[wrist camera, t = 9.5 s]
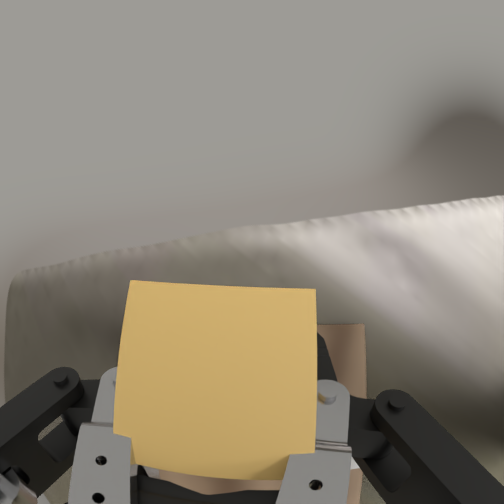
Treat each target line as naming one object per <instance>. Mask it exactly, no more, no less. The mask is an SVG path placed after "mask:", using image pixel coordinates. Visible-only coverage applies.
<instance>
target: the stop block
mask: <svg viewBox="0 0 504 504" xmlns="http://www.w3.org/2000/svg"><path fill="white" fill-rule="evenodd" d="M316 409H317V319H316V291H315V289H296V288H263V287H237V286H215V285H197V284H180V283H164V282H150V281H136V280H131V281H130V286H129V291H128V296H127V302H126V308H125V314H124V320H123V327H122V334H121V341H120V349H119V357H118V366H117V376H116V388H115V401H114V421H113V433H114V434H118V435H122V436H125V437H129V438H131V440H132V446H133V451H134V457H135V462H136V464H138V465H143V466H147V467H151V468H156V469H161V470H166V471H171V472H177V473H183V474H190V475H197V476H205V477H214V478H225V479H241V480H283V477H284V474H285V470H286V467H287V463H288V460H289V456H290V454H307V453H315V436H316Z"/></svg>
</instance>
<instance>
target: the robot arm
mask: <svg viewBox="0 0 504 504" xmlns="http://www.w3.org/2000/svg"><path fill="white" fill-rule="evenodd" d="M116 376H117V367H114V368H111V369H109V370H108V371H106V372H105V373H104V374H103V375H102V377H101V379H99V380H80V377H79V375H78V373H77V372H76V371H75V370H74V369H72V368H68V367H60V368H56V369H54V370H52V371H50V372H49V373H47V374H46V375H45V376H43V377H42V378H40V379H39V380H38V381H36V382H35V383H33V384H32V385H31V386H29V387H28V388H26V389H25V390H24V391H22V392H21V393H20V394H18V395H17V396H15V397H14V398H13V399H11V400H10V401H9V402H7V403H6V404H4V405H3V406H2V407H1V408H0V504H37V498H38V497H39V496H40V495H41V494H42V493H43V492H44V491H45V490H47V489H48V488H49V487H50V486H51V485H52V484H53V483H54V482H55V481H56V480H57V479H58V478H59V477H60V476H61V475H62V474H64V473H65V472H66V471H67V470H68V469H69V468H70V467H71V466H72V465H73V468H72V474H71V482H70V490H69V499H68V502H67V503H65V504H346V503H347V496H348V488H349V479H350V469H351V458H352V457H353V459H354V461H355V462H356V463H357V465H358V466H359V468H360V469H361V470H362V472H363V473H364V474H365V476H366V477H367V478H368V480H369V481H370V483H371V484H372V485H373V487H374V488H375V489H376V491H377V492H378V493H379V495H380V496H381V497H382V499H383V500H384V501H385V502H386V504H504V486H503V485H502V484H500V483H499V482H498V481H497V480H496V479H495V478H494V477H493V476H492V475H491V474H490V473H489V472H488V471H487V470H486V469H485V468H484V467H483V466H482V465H481V464H480V463H479V462H478V461H477V460H476V459H475V458H474V457H473V456H472V455H471V454H470V453H469V452H468V451H467V450H466V449H465V448H464V447H463V446H462V445H461V444H460V443H459V442H458V441H457V440H456V439H455V438H454V437H453V436H452V435H450V434H449V433H448V432H447V431H446V430H445V429H444V428H443V427H442V426H441V425H440V424H439V423H438V422H437V421H436V420H435V419H434V418H433V417H432V416H431V415H430V414H429V413H428V412H427V411H426V410H425V409H424V408H423V407H422V406H421V405H420V404H419V403H417V402H416V401H415V400H414V399H413V398H412V397H411V396H410V395H409V394H407V393H405V392H403V391H400V390H386V391H383V392H382V393H380V394H379V395H378V396H377V398H376V400H373V399H365V398H359V397H355V396H352V395H350V394H349V391H348V390H347V388H346V387H345V386H344V385H342V384H341V383H339V382H338V381H337V377H336V374H335V371H334V368H333V365H332V362H331V358H330V356H329V352H328V349H327V346H326V343H325V340H324V338H323V337H322V336H321V335H320V334H319V333H318V332H317V409H316V436H315V453H307V454H290V456H289V460H288V463H287V467H286V470H285V474H284V477H283V480H282V483H281V486H280V490H243V491H237V492H229V493H221V494H212V495H206V494H201V493H199V492H196V491H193V490H190V489H187V488H185V487H182V486H180V485H177V484H175V483H172V482H170V481H166V480H161V478H160V475H159V469H156V468H151V467H147V466H143V465H138V464H136V462H135V457H134V451H133V446H132V440H131V438H129V437H125V436H122V435H118V434H114V433H113V421H114V401H115V388H116ZM59 416H61V418H62V419H63V422H61V423H60V424H59V425H58V426H57V427H55V428H54V429H53V430H52V431H51V432H50V433H48V434H47V435H46V436H45V437H44V438H43V439H41V440H39V441H38V435H39V433H40V432H41V431H42V430H43V429H44V428H46V427H47V426H48V425H49V424H50V423H52V422H53V421H54V420H55V419H56V418H58V417H59Z"/></svg>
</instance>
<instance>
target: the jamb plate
mask: <svg viewBox="0 0 504 504" xmlns="http://www.w3.org/2000/svg"><path fill="white" fill-rule="evenodd" d="M317 332H318V333H319V334H320V335H321V336H322V337H323V338H324V340H325V343H326V346H327V349H328V352H329V356H330V358H331V362H332V365H333V368H334V371H335V374H336V377H337V381H338V382H339V383H341V384H342V385H344V386H345V387H346V388H347V390H348V391H349V394H350V395H352V396H355V397H359V398H365V399H367V382H366V347H365V329H364V324H337V325H317ZM159 475H160V478H161V480H166V481H170V482H172V483H175V484H177V485H180V486H182V487H185V488H187V489H190V490H193V491H196V492H199V493H201V494H206V495H212V494H221V493H229V492H237V491H243V490H280V486H281V483H282V480H241V479H225V478H214V477H205V476H197V475H190V474H183V473H177V472H171V471H166V470H161V469H159ZM362 476H363V472H362V470H361V469H360V468H359V466H358V465H357V463H356V462H355V461H354V459H353V457H352V458H351V469H350V479H349V488H348V496H347V503H346V504H359V501H360V493H361V485H362Z"/></svg>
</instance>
